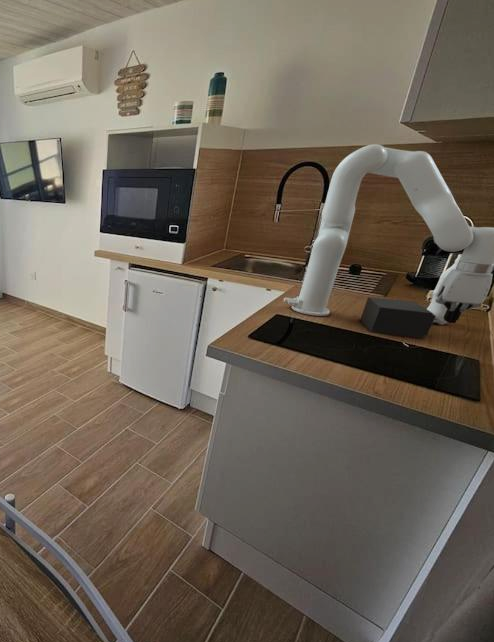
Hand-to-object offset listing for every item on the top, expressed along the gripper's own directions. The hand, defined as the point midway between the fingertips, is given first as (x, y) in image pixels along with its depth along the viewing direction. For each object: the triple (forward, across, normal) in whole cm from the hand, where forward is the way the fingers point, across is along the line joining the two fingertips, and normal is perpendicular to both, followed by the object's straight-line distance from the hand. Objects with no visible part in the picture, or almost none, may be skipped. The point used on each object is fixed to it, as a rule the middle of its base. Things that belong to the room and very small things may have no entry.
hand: (449, 321), depth 124 cm
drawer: (+4, +11, 0) cm, 11 cm away
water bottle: (+5, -4, -15) cm, 16 cm away
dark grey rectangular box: (+5, +14, 0) cm, 15 cm away
